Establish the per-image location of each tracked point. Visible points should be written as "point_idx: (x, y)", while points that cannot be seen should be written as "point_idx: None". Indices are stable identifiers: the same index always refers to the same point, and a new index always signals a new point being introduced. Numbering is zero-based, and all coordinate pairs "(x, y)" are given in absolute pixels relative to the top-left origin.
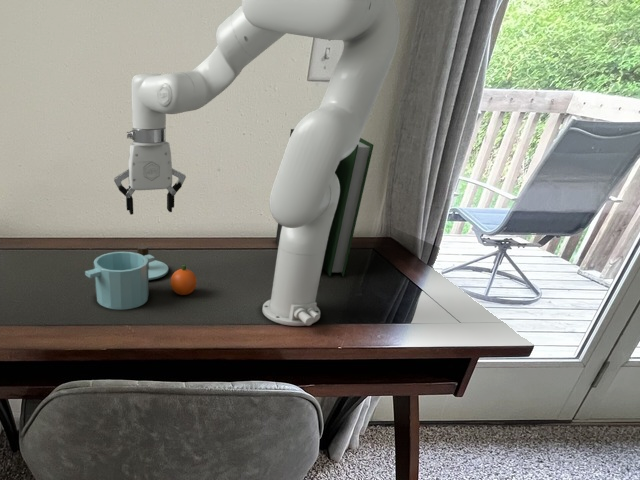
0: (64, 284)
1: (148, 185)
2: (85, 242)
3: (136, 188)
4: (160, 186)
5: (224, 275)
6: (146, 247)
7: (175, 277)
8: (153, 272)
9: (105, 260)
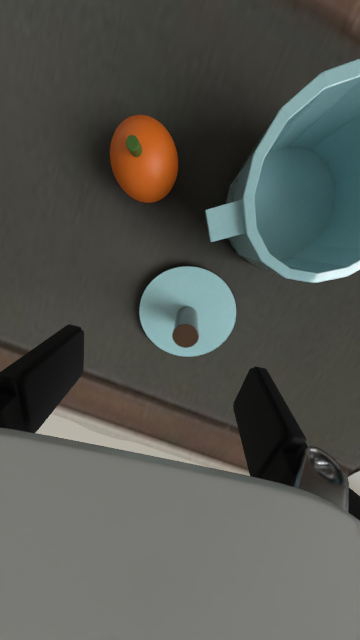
0: (340, 320)
1: (189, 525)
2: (224, 448)
3: (334, 514)
4: (22, 463)
5: (40, 235)
6: (179, 330)
7: (168, 145)
8: (176, 289)
9: (334, 265)
